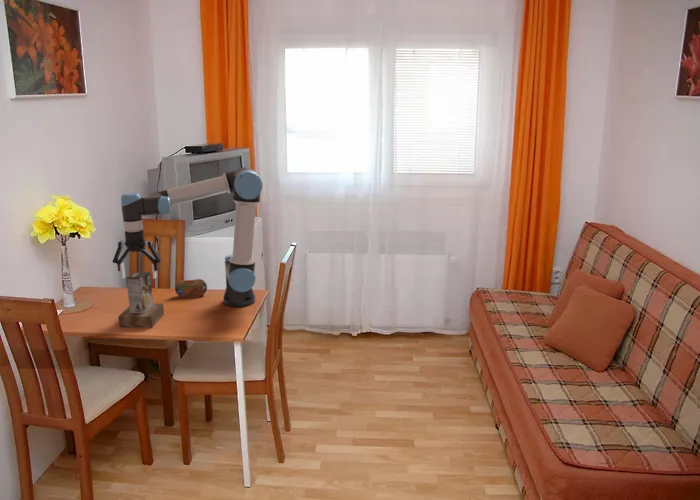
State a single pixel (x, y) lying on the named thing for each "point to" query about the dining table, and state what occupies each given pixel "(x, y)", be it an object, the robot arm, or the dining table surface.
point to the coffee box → (139, 292)
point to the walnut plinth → (141, 317)
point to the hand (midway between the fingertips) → (139, 278)
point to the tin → (191, 288)
